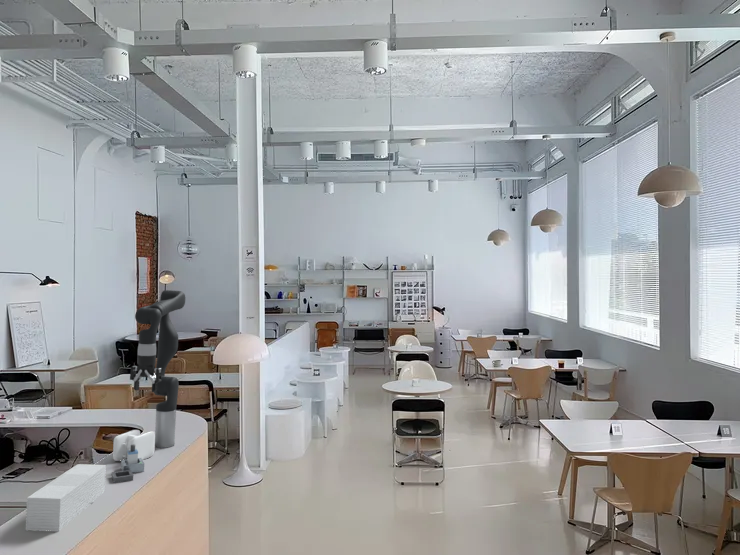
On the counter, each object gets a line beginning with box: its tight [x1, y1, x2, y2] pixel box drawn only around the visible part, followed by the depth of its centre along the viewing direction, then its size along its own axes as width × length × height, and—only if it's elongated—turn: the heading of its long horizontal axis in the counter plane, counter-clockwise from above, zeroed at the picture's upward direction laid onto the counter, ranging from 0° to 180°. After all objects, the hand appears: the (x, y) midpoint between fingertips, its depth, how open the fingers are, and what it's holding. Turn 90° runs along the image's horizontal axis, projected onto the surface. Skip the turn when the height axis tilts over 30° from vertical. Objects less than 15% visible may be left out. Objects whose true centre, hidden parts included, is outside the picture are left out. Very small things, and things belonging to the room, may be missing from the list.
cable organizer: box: [112, 429, 155, 462], centre depth 247 cm, size 15×11×12 cm
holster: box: [111, 470, 134, 484], centre depth 223 cm, size 7×7×2 cm
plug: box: [126, 444, 138, 465], centre depth 233 cm, size 4×4×10 cm
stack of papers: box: [25, 463, 107, 532], centre depth 193 cm, size 32×11×11 cm, turn 1°
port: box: [120, 458, 145, 474], centre depth 233 cm, size 8×8×4 cm
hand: (145, 390), depth 241 cm, fingers open, 8 cm apart
